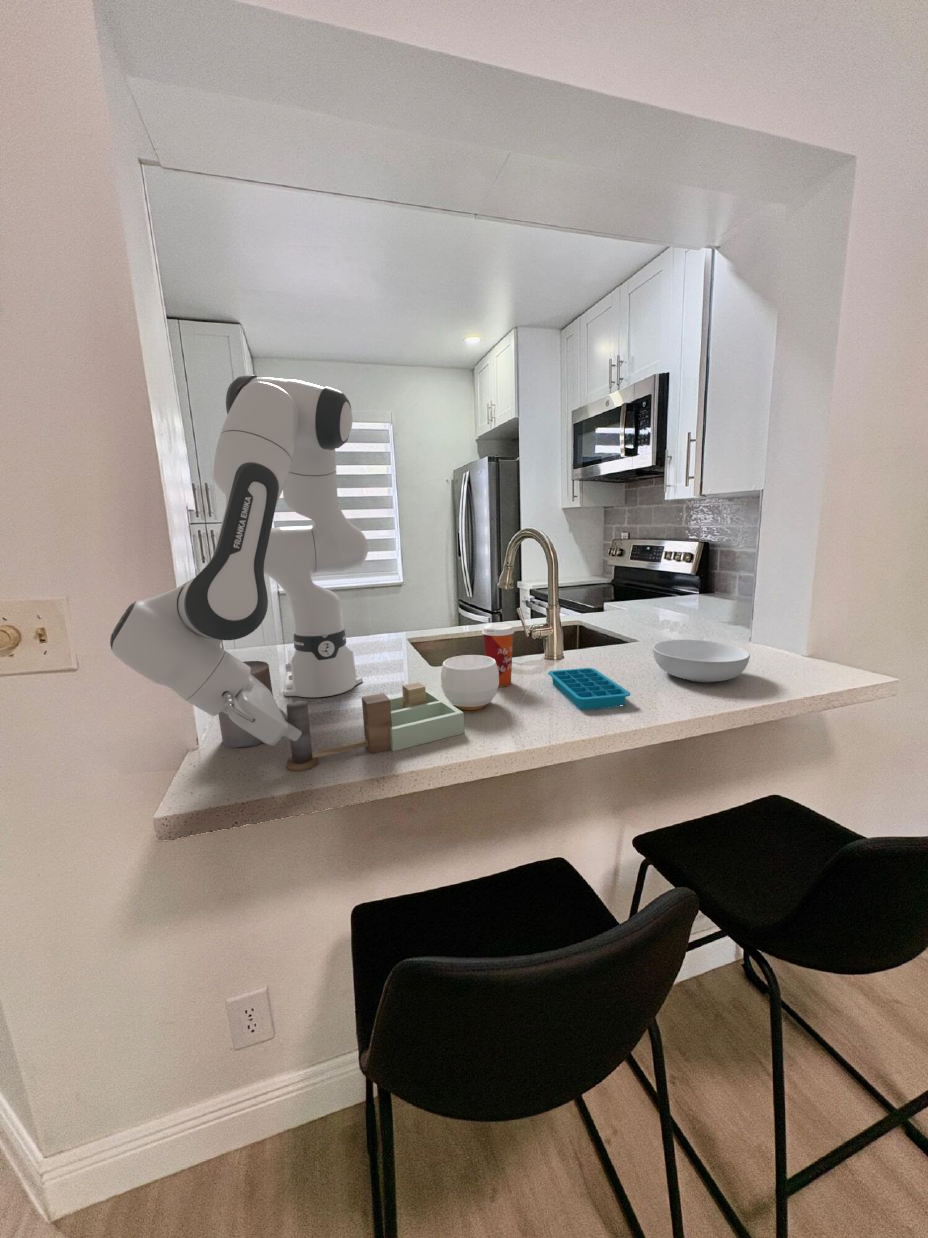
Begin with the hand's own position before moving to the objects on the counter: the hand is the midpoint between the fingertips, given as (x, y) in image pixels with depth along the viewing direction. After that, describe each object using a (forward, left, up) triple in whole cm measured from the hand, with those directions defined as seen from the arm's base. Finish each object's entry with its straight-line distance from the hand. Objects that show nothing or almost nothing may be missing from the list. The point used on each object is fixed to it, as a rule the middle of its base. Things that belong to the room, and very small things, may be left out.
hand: (295, 731), depth 81 cm
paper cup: (-17, +50, -6) cm, 53 cm away
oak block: (-7, +24, -6) cm, 26 cm away
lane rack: (-4, +21, -6) cm, 23 cm away
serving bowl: (+6, +92, -6) cm, 92 cm away
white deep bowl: (-8, +37, -6) cm, 38 cm away
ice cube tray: (0, +62, -6) cm, 62 cm away
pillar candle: (-17, -6, -6) cm, 19 cm away
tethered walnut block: (0, +7, -6) cm, 9 cm away
